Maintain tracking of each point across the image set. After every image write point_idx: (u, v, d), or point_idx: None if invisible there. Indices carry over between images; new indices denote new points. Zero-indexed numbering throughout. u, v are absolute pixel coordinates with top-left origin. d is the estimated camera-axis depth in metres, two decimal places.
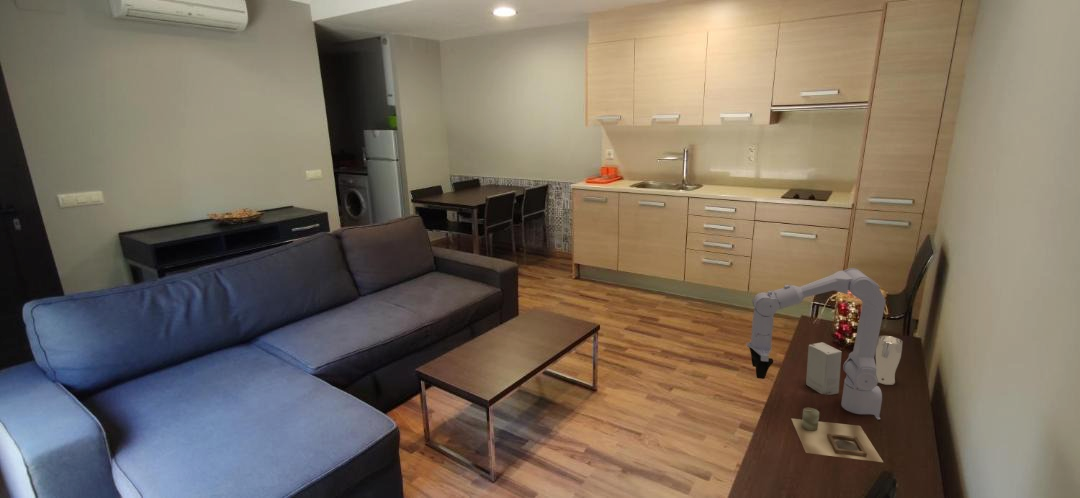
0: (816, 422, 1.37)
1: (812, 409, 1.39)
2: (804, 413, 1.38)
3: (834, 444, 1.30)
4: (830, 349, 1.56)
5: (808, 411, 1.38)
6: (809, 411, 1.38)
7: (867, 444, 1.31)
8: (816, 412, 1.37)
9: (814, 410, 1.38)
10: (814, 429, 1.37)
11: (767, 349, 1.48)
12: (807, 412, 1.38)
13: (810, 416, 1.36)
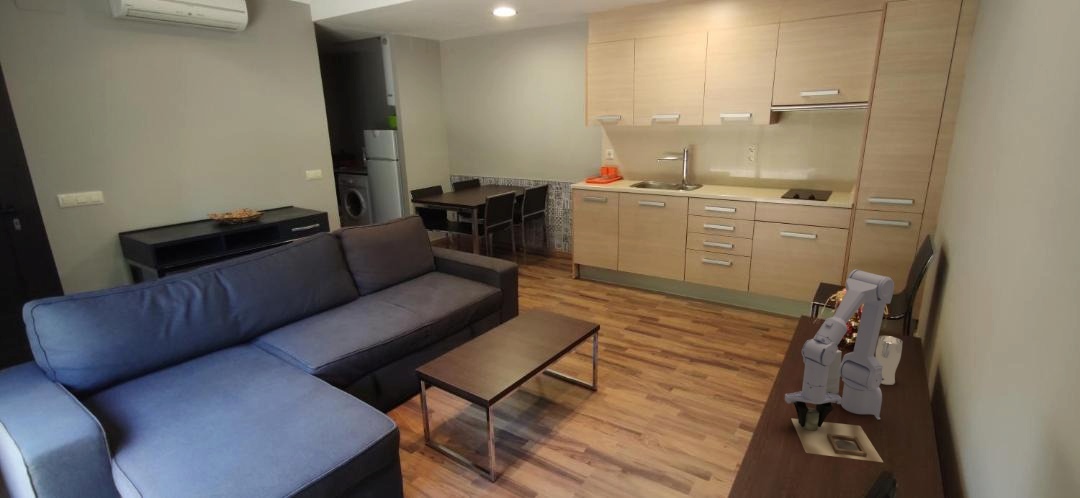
0: (816, 422, 1.37)
1: (812, 409, 1.39)
2: None
3: (834, 444, 1.30)
4: None
5: (808, 411, 1.38)
6: (809, 411, 1.38)
7: (867, 444, 1.31)
8: (816, 412, 1.37)
9: (814, 410, 1.38)
10: (814, 429, 1.37)
11: (805, 398, 1.36)
12: (807, 412, 1.38)
13: (810, 416, 1.36)
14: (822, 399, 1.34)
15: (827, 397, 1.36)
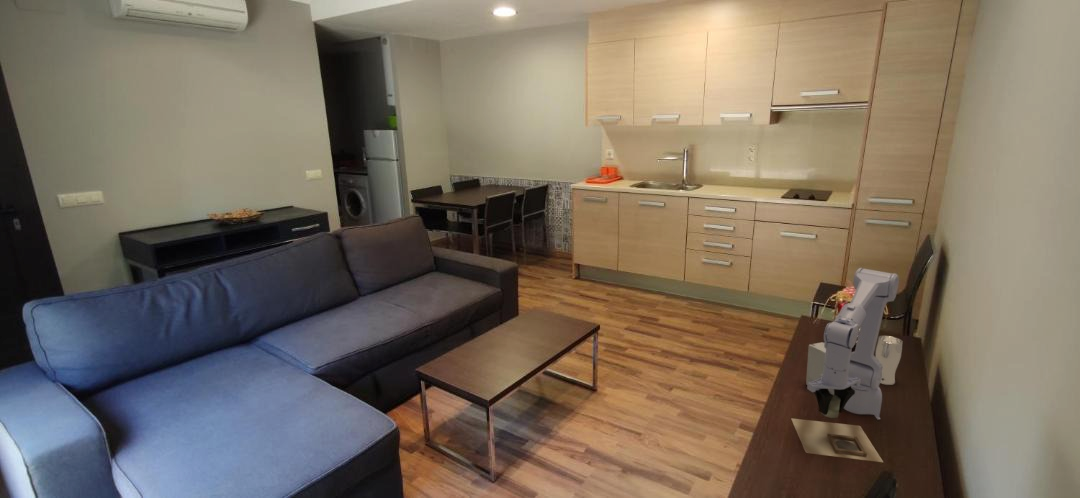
0: (838, 408, 1.31)
1: None
2: None
3: (834, 444, 1.30)
4: None
5: None
6: None
7: (867, 444, 1.31)
8: (836, 397, 1.32)
9: (833, 396, 1.33)
10: (836, 416, 1.31)
11: (829, 385, 1.29)
12: None
13: (833, 403, 1.30)
14: (846, 383, 1.28)
15: (847, 381, 1.31)
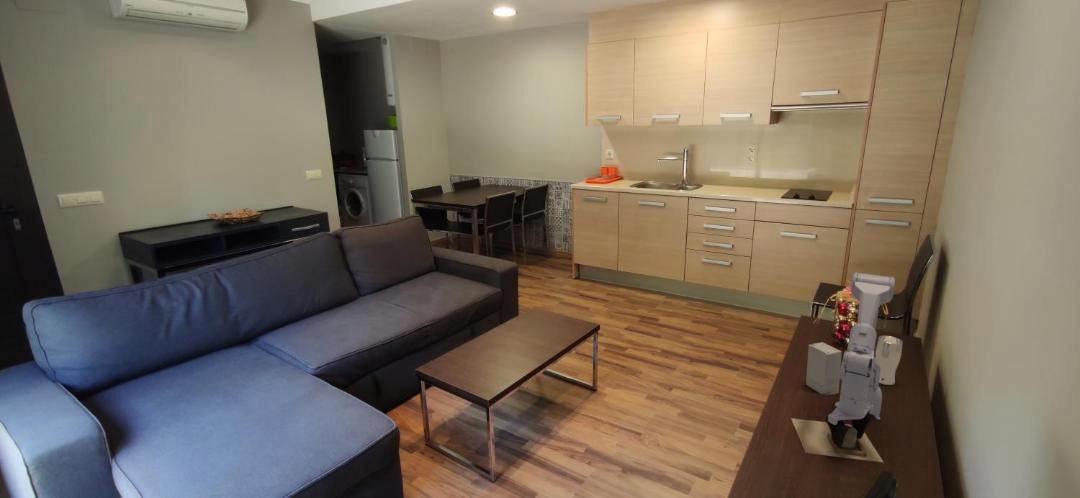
0: (855, 440, 1.29)
1: None
2: None
3: (834, 444, 1.30)
4: (830, 349, 1.56)
5: None
6: None
7: (867, 444, 1.31)
8: (852, 429, 1.29)
9: None
10: (854, 448, 1.29)
11: (849, 415, 1.26)
12: (847, 432, 1.28)
13: (852, 436, 1.27)
14: (864, 412, 1.26)
15: None
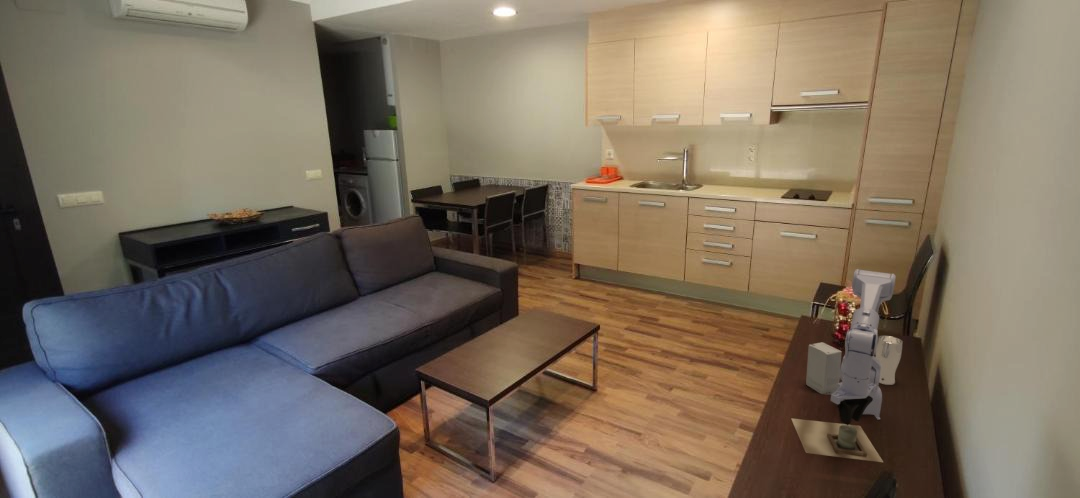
0: (855, 440, 1.29)
1: (846, 426, 1.30)
2: (844, 434, 1.28)
3: (834, 444, 1.30)
4: (830, 349, 1.56)
5: (845, 429, 1.29)
6: (847, 430, 1.29)
7: (867, 444, 1.31)
8: (853, 429, 1.29)
9: (849, 427, 1.30)
10: (854, 448, 1.29)
11: (852, 395, 1.24)
12: (847, 432, 1.28)
13: (852, 436, 1.27)
14: (867, 391, 1.24)
15: None
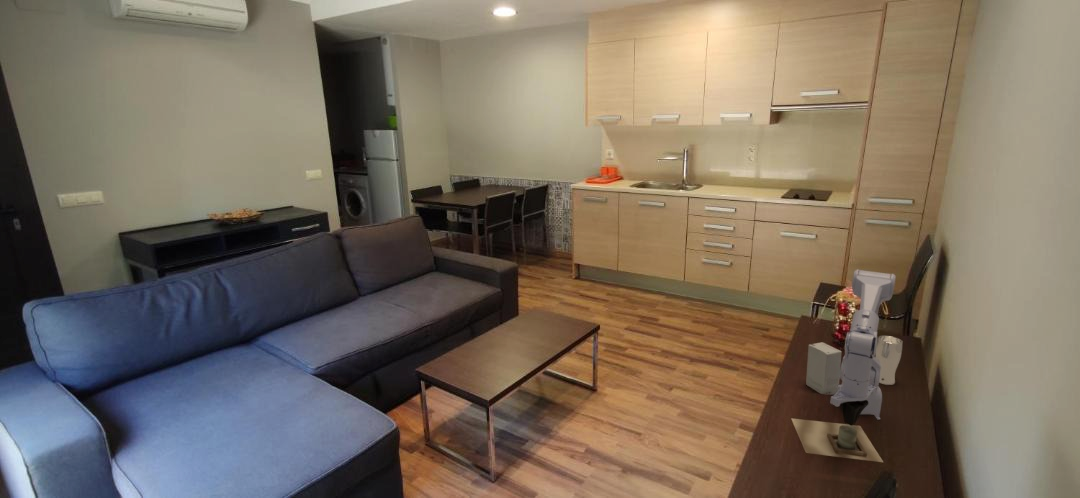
0: (855, 440, 1.29)
1: (846, 426, 1.30)
2: (844, 434, 1.28)
3: (834, 444, 1.30)
4: (830, 349, 1.56)
5: (845, 429, 1.29)
6: (847, 430, 1.29)
7: (867, 444, 1.31)
8: (853, 429, 1.29)
9: (849, 427, 1.30)
10: (854, 448, 1.29)
11: (852, 397, 1.24)
12: (847, 432, 1.28)
13: (852, 436, 1.27)
14: (867, 394, 1.25)
15: None
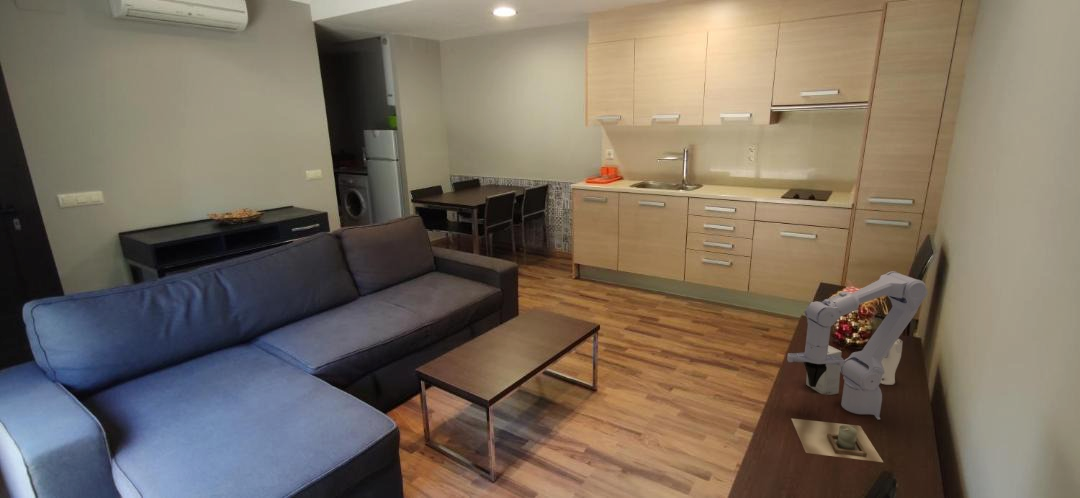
0: (855, 440, 1.29)
1: (846, 426, 1.30)
2: (844, 434, 1.28)
3: (834, 444, 1.30)
4: (830, 349, 1.56)
5: (845, 429, 1.29)
6: (847, 430, 1.29)
7: (867, 444, 1.31)
8: (853, 429, 1.29)
9: (849, 427, 1.30)
10: (854, 448, 1.29)
11: (806, 358, 1.42)
12: (847, 432, 1.28)
13: (852, 436, 1.27)
14: (823, 359, 1.40)
15: (829, 359, 1.41)
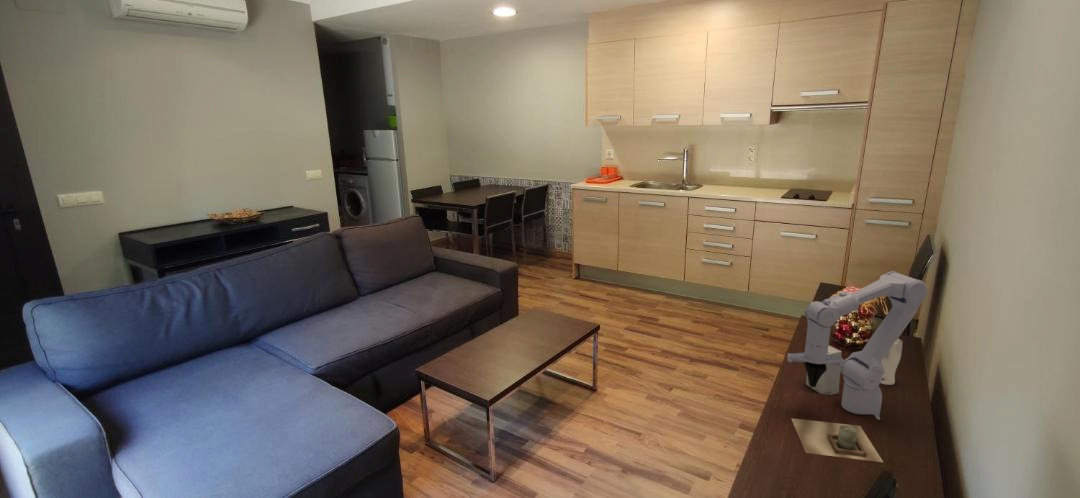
0: (855, 440, 1.29)
1: (846, 426, 1.30)
2: (844, 434, 1.28)
3: (834, 444, 1.30)
4: (830, 349, 1.56)
5: (845, 429, 1.29)
6: (847, 430, 1.29)
7: (867, 444, 1.31)
8: (853, 429, 1.29)
9: (849, 427, 1.30)
10: (854, 448, 1.29)
11: (806, 358, 1.42)
12: (847, 432, 1.28)
13: (852, 436, 1.27)
14: (823, 359, 1.40)
15: (829, 359, 1.41)
